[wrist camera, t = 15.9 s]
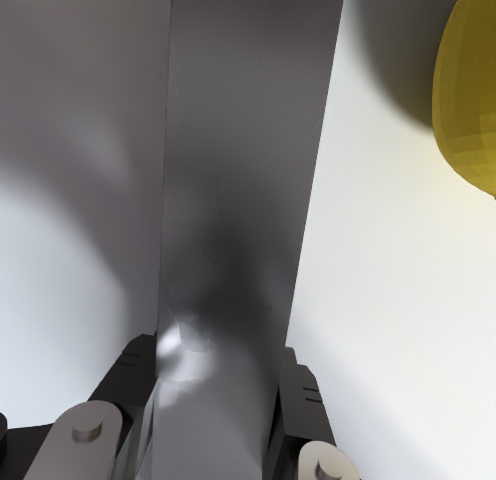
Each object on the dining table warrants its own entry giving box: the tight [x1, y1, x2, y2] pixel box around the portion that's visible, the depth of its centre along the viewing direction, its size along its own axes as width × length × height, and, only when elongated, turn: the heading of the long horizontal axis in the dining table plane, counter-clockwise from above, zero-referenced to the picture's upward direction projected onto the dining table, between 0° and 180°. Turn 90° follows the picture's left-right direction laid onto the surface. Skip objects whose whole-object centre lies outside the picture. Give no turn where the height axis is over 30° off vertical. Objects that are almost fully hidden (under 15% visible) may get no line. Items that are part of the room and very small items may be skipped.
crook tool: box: [151, 0, 343, 480], centre depth 8 cm, size 12×29×4 cm, turn 173°
